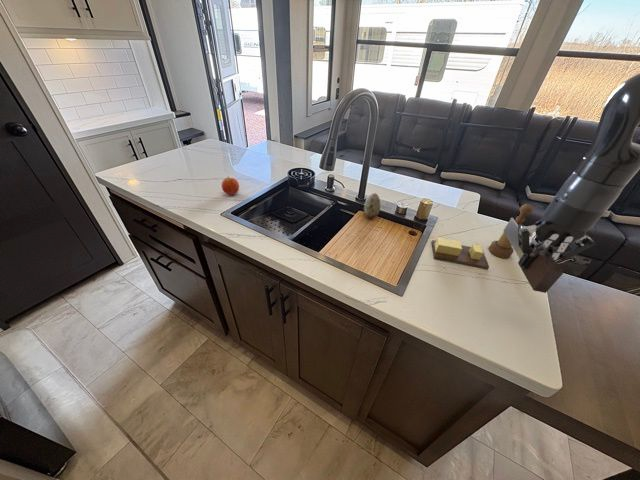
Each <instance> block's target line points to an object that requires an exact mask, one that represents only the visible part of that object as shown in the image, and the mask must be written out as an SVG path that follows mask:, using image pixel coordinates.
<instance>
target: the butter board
mask: <svg viewBox="0 0 640 480" xmlns="http://www.w3.org/2000/svg"><path fill="white" fill-rule="evenodd" d="M436 240H437V239H436ZM436 240H435V239H432V240H431V247H432V255H433V259H434V260H437V261H443V262H449V263H454V264H458V265H459V264H460V265H465V266H469V267H474V268H480V269H485V270H489V268H490V265H489V262H488V259H487V257H486V255H485V252H484V251H483V255H482V256H481V258H480V260H477V259H472V258H471V256H470V253H469V250H470V248H471V246H468V245H462V244H461V247H462V250H461V252H460V254H459V256H455V255H450V254H445V253H439V252H436V250H435V242H436Z"/></svg>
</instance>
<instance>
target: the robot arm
mask: <svg viewBox="0 0 640 480" xmlns="http://www.w3.org/2000/svg"><path fill="white" fill-rule="evenodd" d="M637 128H640V73H636V74H635V75H632V76H631V77H629V78H627V80H624V81H623V82H622V83H621V84H620V85H618V86H617V87H616V89H614V91H612V93H611V94H610V95H609V97H608V99H607V101H606V102H605V104H604V106H603V108H602V111H601V115H600V119H599V122H598V124H597V127H596V130H595V133H594V136H593V138H592V142H591V144H590V147H589V149H588V151H587V152H586V154H585V155H584V157H583V158H582V159H581V161H580V163H578V165H577V167H576V168H575V170H574V171H573V172H572V173H571V175H569V177H568V178H567V179H566V180H565V181H564V183H562V186H561V187H560V188H559V190H558V191H557V193H556V194H555V196H554V197H553V198H552V200H551V201H550V202H549V204H548V206H547V207H546V209H545V210H544V211H543V214H542V217H541V218H540V219H539V220H537V221H536V222H535V223H534V224H533V225H528V226H526V225H524V224H522V225H519V226H518V245H519V247H520V248H521V250H522V252H523V253H524V254H523V256H522V257H521V259H519V260H518V262H519V263H520V265H521V267H522V269H527V268H528V267H529V266H530V264H531V263H532V262H533V260H534V259H535V256H537V255H538V254H539V252H540V251H541V250H545V249H547V251H548V252H549V253H550V255H551V256H552V257H553V259H554V260H555V261H557V260H562V261H567V260H569V259H571V258H573V257H575V256H577V255H579V254H580V253H582V252H585V251H586V250H588V249H590V248H592V247H593V246H595V245H596V242H595V241H594V240H593V239H592V238H591V237H590V236H589V235H588V234H587V232H588V231H590V230H591V229H592V228H593V227H594V226H595V225H596V224H597V222H598V221H599V220H600V219H601V218H602V217H603V216H604V214H605V213H606V212H607V211H608V210H609V209H610V207H611V206H612V205H613V204H614V203H615V202H616V200H617V199H618V198H619V196H620V195H621V193H622V192H623V190H624V189H625V187H626V185H628V183H629V182H630V181H631V180H632V179H633V177H634V176H635V175H636V174H637V173H638V172H639V171H640V144H639V143H636V142H633V139H634V134H635V131H636V130H637ZM534 232H535V235H534ZM533 235H534V236H533ZM530 238H531V239H530ZM529 242H530V244H529ZM522 269H521V270H522Z"/></svg>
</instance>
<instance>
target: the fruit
mask: <svg viewBox="0 0 640 480" xmlns="http://www.w3.org/2000/svg"><path fill="white" fill-rule="evenodd" d="M221 190H222V191H223V193H225V194H226V195H229V196H234V195H235V194H238V192H239V191H240V184H239V181H238V180H237V179H236V178H234V177H229V175H228V176H227V177H226V178H224V179H223V180H222V181H221Z"/></svg>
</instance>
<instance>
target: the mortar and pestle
mask: <svg viewBox="0 0 640 480" xmlns="http://www.w3.org/2000/svg"><path fill="white" fill-rule="evenodd" d="M533 211H534V207H533V206H532V205H531V204H529V203H525V204H523V205H521V206H520V208H519V215H518V216H516V217H515V219H514V220H515V222H516V223H517V224H518V226H519V225H523V223H524V222H525V221H526V217H527V216H528V215H530V214H532V212H533ZM488 250H489V252H490V253H491V254H492V255H493V256H496V257H498V258H501V259H509V258H511V256H512V254H513V253H514V252H515V250H514V249H513V247H512V245H511V243H510V242H509V240H508V238H507V237H506V235H505V233H504V231H503V232H502V234H501V235H500V237H499V239H498V240H493V241H492V242H491V243H490V245H489V246H488Z"/></svg>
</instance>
